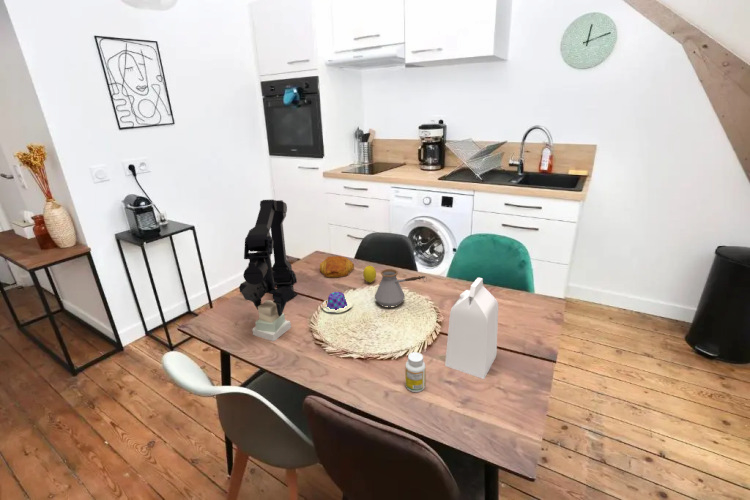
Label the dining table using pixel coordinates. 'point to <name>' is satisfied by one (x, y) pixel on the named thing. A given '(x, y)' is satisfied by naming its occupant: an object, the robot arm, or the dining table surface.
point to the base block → (272, 335)
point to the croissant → (336, 266)
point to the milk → (473, 331)
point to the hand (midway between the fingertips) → (269, 312)
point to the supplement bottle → (415, 372)
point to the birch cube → (268, 311)
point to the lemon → (369, 274)
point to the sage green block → (270, 324)
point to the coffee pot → (391, 288)
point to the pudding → (336, 300)
